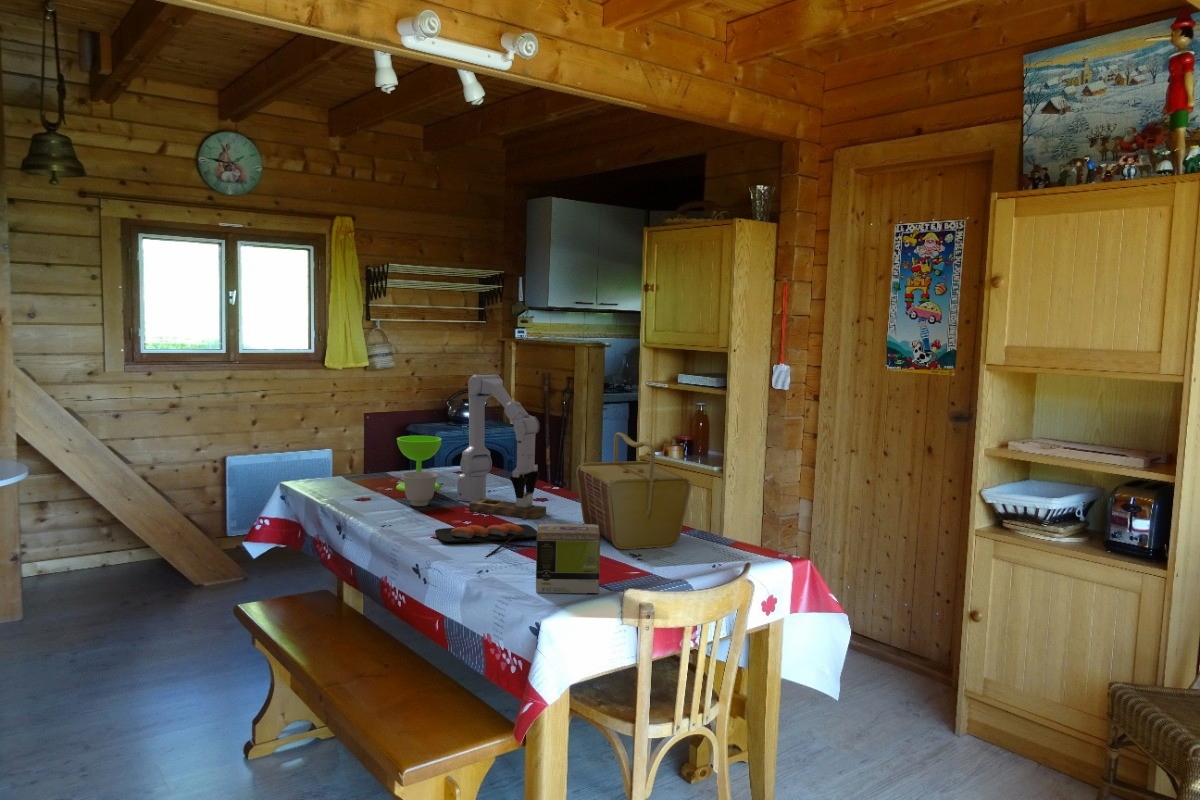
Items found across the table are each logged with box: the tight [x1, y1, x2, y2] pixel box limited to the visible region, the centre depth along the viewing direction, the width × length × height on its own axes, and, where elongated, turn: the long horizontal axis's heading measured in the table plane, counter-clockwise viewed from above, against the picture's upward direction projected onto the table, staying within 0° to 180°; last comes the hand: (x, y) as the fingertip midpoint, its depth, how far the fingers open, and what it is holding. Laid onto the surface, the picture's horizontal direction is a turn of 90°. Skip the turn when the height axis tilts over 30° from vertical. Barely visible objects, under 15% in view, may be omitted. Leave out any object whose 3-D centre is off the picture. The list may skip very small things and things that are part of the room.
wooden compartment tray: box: [468, 498, 547, 520], centre depth 283 cm, size 24×8×3 cm, turn 69°
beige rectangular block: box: [515, 491, 534, 509], centre depth 280 cm, size 4×4×7 cm
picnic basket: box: [575, 431, 692, 550], centre depth 255 cm, size 29×26×30 cm
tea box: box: [535, 523, 601, 594], centre depth 207 cm, size 15×10×15 cm
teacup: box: [401, 471, 439, 507], centre depth 290 cm, size 12×15×10 cm
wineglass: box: [395, 435, 443, 492], centre depth 316 cm, size 16×16×18 cm
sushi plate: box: [434, 522, 537, 558], centre depth 244 cm, size 29×30×4 cm
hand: (524, 495), depth 280 cm, fingers open, 7 cm apart
